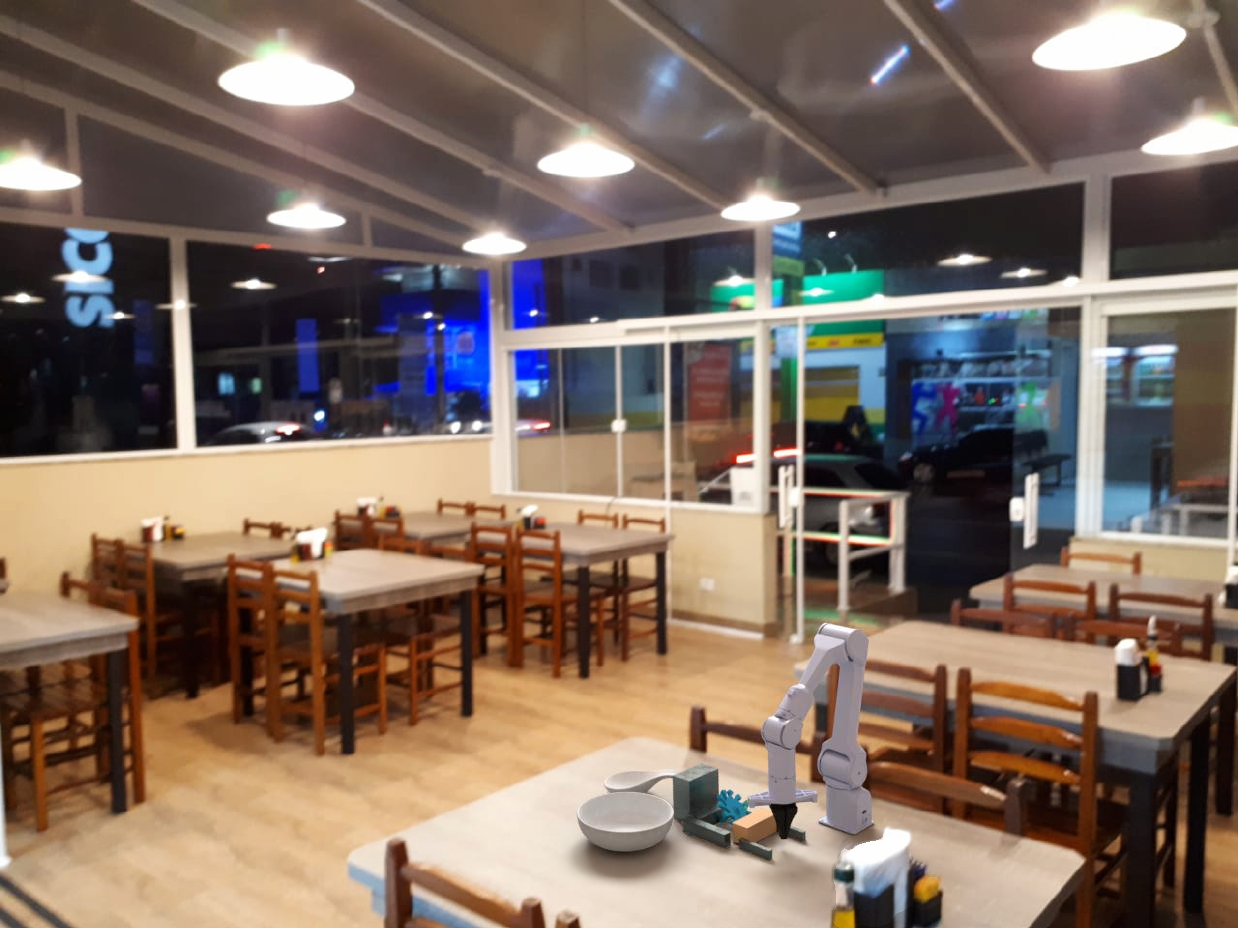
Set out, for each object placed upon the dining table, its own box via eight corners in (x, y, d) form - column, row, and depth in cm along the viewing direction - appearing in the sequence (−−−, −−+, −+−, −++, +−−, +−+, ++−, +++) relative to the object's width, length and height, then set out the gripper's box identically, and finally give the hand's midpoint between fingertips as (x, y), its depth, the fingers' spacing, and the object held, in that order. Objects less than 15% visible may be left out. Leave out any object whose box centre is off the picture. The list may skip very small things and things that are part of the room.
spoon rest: (596, 801, 227) (595, 772, 227) (615, 782, 238) (614, 754, 238) (691, 814, 219) (690, 784, 218) (706, 794, 230) (705, 765, 229)
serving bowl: (667, 867, 194) (666, 834, 193) (567, 860, 198) (566, 828, 197) (680, 823, 214) (680, 793, 214) (590, 817, 218) (589, 788, 218)
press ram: (776, 831, 208) (776, 813, 207) (747, 846, 201) (747, 828, 201) (761, 825, 211) (761, 807, 210) (732, 840, 204) (732, 822, 203)
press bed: (805, 839, 204) (804, 794, 203) (762, 864, 194) (761, 816, 193) (706, 803, 224) (705, 761, 223) (663, 823, 214) (661, 779, 213)
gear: (740, 832, 204) (713, 792, 209) (722, 847, 207) (696, 807, 211) (765, 821, 213) (738, 782, 218) (747, 835, 216) (722, 796, 220)
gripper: (809, 764, 204) (810, 825, 205) (743, 769, 202) (744, 831, 203) (820, 776, 197) (821, 840, 198) (751, 782, 195) (753, 846, 196)
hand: (783, 837), depth 200 cm, fingers closed
